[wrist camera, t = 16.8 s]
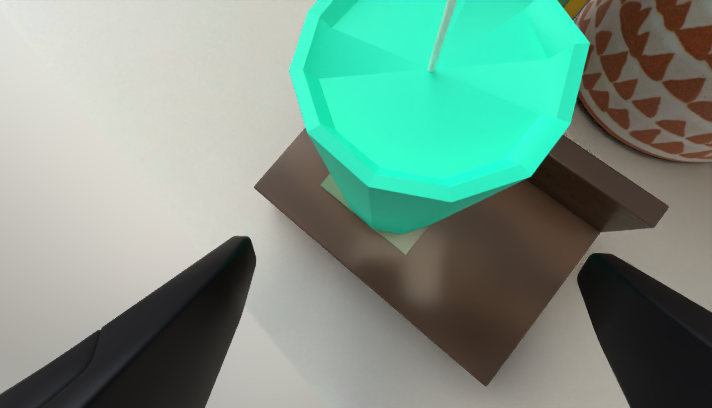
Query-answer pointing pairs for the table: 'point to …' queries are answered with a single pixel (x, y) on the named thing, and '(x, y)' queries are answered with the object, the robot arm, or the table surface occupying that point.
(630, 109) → the patterned ceramic planter
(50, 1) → the table surface
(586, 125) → the table surface
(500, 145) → the candle
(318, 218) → the brown block with ledge
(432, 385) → the table surface
